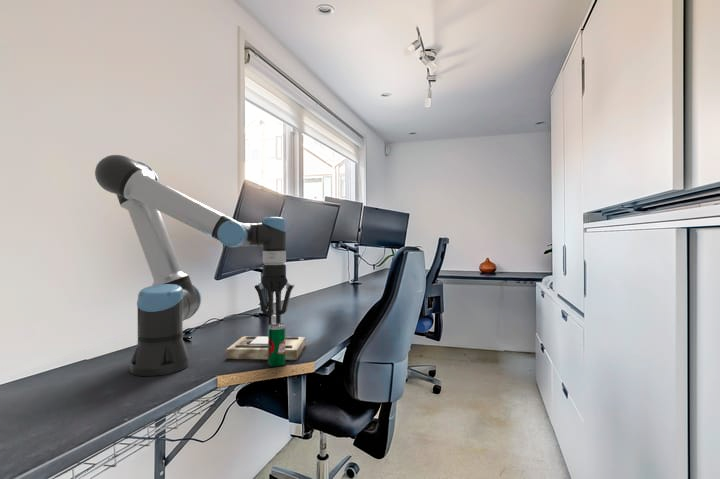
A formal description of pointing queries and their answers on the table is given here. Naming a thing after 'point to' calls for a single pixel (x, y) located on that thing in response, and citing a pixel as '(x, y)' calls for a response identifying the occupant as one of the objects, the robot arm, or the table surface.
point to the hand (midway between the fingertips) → (274, 334)
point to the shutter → (260, 341)
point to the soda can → (276, 344)
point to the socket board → (264, 349)
